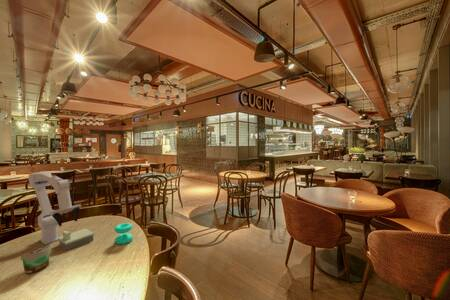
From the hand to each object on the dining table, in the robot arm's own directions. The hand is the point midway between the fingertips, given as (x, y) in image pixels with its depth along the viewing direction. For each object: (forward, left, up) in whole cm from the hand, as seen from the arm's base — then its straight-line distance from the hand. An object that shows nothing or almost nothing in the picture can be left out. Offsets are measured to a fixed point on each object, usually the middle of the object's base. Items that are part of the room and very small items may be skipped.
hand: (68, 223), depth 119 cm
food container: (+11, -16, -15) cm, 24 cm away
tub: (-4, +5, -15) cm, 16 cm away
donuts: (+19, +22, -15) cm, 33 cm away
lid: (-4, +5, -11) cm, 13 cm away
